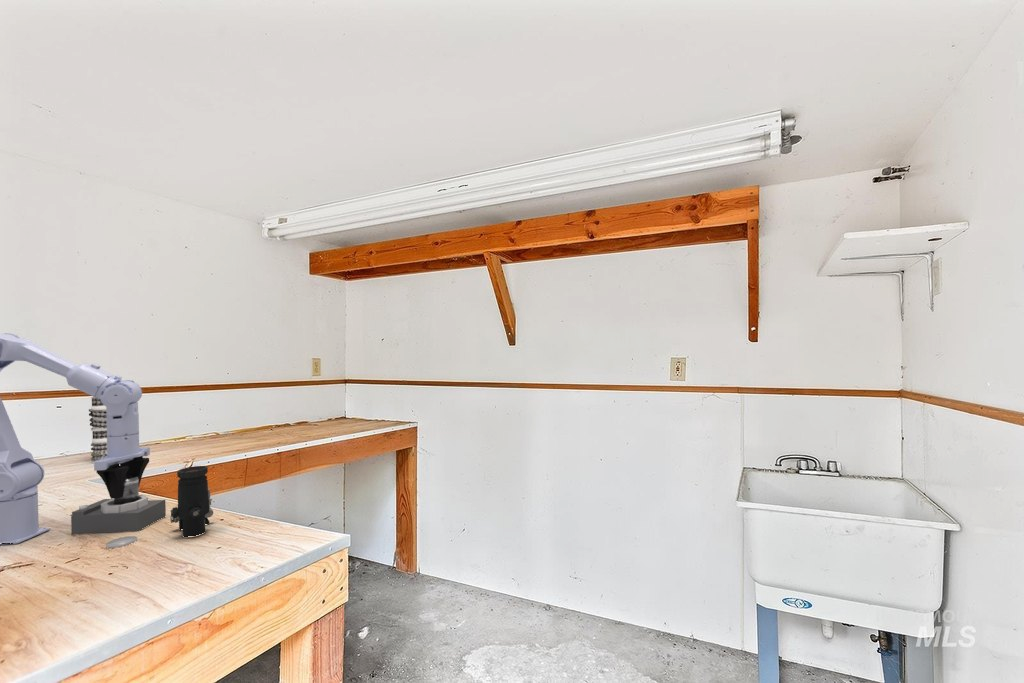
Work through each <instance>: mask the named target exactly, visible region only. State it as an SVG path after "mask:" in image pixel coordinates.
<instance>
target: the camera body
mask: <svg viewBox="0 0 1024 683" xmlns="http://www.w3.org/2000/svg"><path fill="white" fill-rule="evenodd" d="M166 507H167V506H166V499H152V500H151V499H150V500H149V497H148V496H147V495H145V494H139V500H137V501H135V502H131V503H126V504H122V505H114V498H112V499H111V498H103V499H100V500H98V501H96V502H94V503H92V504H89V505H88V504H81V505H79V506H78V509H76V510H74V511H72V512H71V515H70V522H71V523H70V525H71V527H70V529H71V530H70V531H71V535H84V534H85V533H91V534H107V533H108V532H111V533H124V531H131V532H140V531H142V530H143V529H142V528H144V527H146V526H148V525H149V526H151V525H152V524H151V523H153V522H155V521H157V520H159V519H160V520H162V519H164V518H166V517H167V516H166V514H167V512H166ZM165 516H166V517H165ZM163 517H164V518H163ZM161 518H162V519H161ZM160 520H159V521H160ZM157 522H158V521H157ZM155 523H156V522H155ZM150 524H151V525H150ZM153 524H154V523H153ZM149 526H148V527H149ZM146 528H147V527H146ZM141 529H142V530H141ZM144 529H145V528H144ZM139 530H140V531H139ZM108 534H109V533H108Z"/></svg>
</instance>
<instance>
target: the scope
mask: <svg viewBox="0 0 1024 683" xmlns="http://www.w3.org/2000/svg"><path fill="white" fill-rule="evenodd" d="M208 468H209V467H208V466H206V465H195V466H188V467H184V468H183V467H182V468H181V469H178V470H177V473H176V474H177V476H176V477H177V478H179V479H178V480H177V506H173V507H172V509H170V520H169V521H170V524H173V523H174V524H176V523H178V529H180V530H181V529H183V530H182V537H183V536H184V537H188V536H196V535H199V534H202V533H204V532H205V533H206V525H205V524H208V525H210V520H209V518H211V517H213V515H214V509H212V507H211V506H212V501H213V499H212V498H211V489H210V488H209V482H208V475H207V474H208V470H209V469H208ZM180 530H179V531H180ZM205 533H204V534H205ZM184 537H183V538H184Z"/></svg>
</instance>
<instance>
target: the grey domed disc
mask: <svg viewBox="0 0 1024 683" xmlns="http://www.w3.org/2000/svg"><path fill="white" fill-rule="evenodd" d="M135 541H136V542H138V537H137V536H136V535H130V536H127V535H126V536H123V537H118V538H115V539H112V540H110V541H107V542H106V543H105V547H106V548H107V547H108V548H107V549H116V548H115V547H119V548H122V546H124V547H126V545H127V546H130V545H132V544H131V543H133V544H134V542H135ZM136 542H135V543H136ZM129 544H130V545H129Z"/></svg>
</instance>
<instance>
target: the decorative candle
mask: <svg viewBox="0 0 1024 683" xmlns="http://www.w3.org/2000/svg"><path fill="white" fill-rule="evenodd" d="M90 407H91V408H89V409H88V412H89V413H88V416H89V417H90V418H89V426H90V427H91V428H90V432H92V437H91V443H90V446H91V448H90V450H91V451H92V452H91V453H90V456H92V457H91V458H90V460H91V465H94V461H97V460H100V459H102V458H103V457H105V456H107V420H106V416H107V410H106V406H105V405H104V404H103V403H102V402H101V399H98V398H96V397H93V396H91V406H90Z"/></svg>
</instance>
